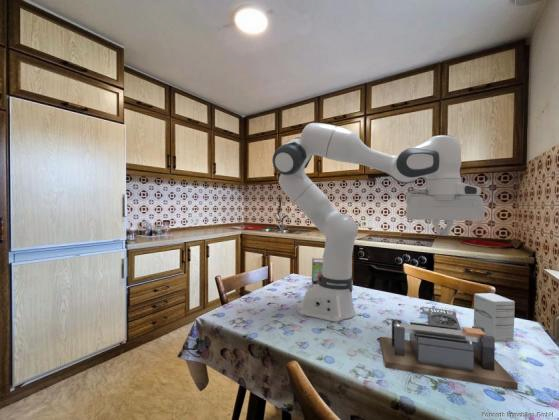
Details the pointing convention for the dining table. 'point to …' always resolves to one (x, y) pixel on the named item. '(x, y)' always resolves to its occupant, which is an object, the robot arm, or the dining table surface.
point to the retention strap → (444, 332)
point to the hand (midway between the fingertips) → (442, 235)
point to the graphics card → (441, 317)
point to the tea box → (316, 269)
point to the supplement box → (494, 315)
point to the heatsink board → (444, 372)
